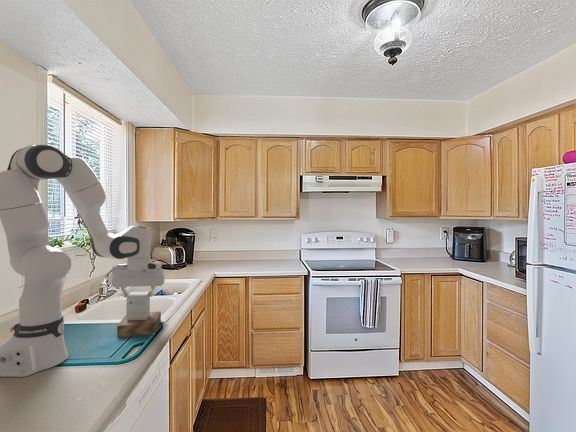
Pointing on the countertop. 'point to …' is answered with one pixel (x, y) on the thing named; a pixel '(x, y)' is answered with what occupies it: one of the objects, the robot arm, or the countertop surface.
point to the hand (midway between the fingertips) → (138, 296)
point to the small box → (137, 306)
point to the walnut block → (139, 325)
